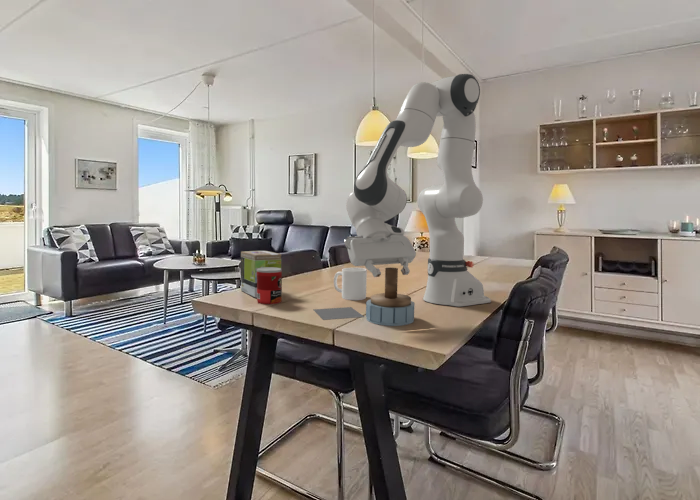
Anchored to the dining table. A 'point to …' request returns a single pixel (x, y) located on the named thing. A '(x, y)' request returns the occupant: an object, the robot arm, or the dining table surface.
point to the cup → (352, 283)
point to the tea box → (250, 266)
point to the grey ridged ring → (390, 314)
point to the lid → (391, 292)
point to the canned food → (269, 285)
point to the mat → (337, 313)
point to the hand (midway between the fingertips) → (392, 274)
